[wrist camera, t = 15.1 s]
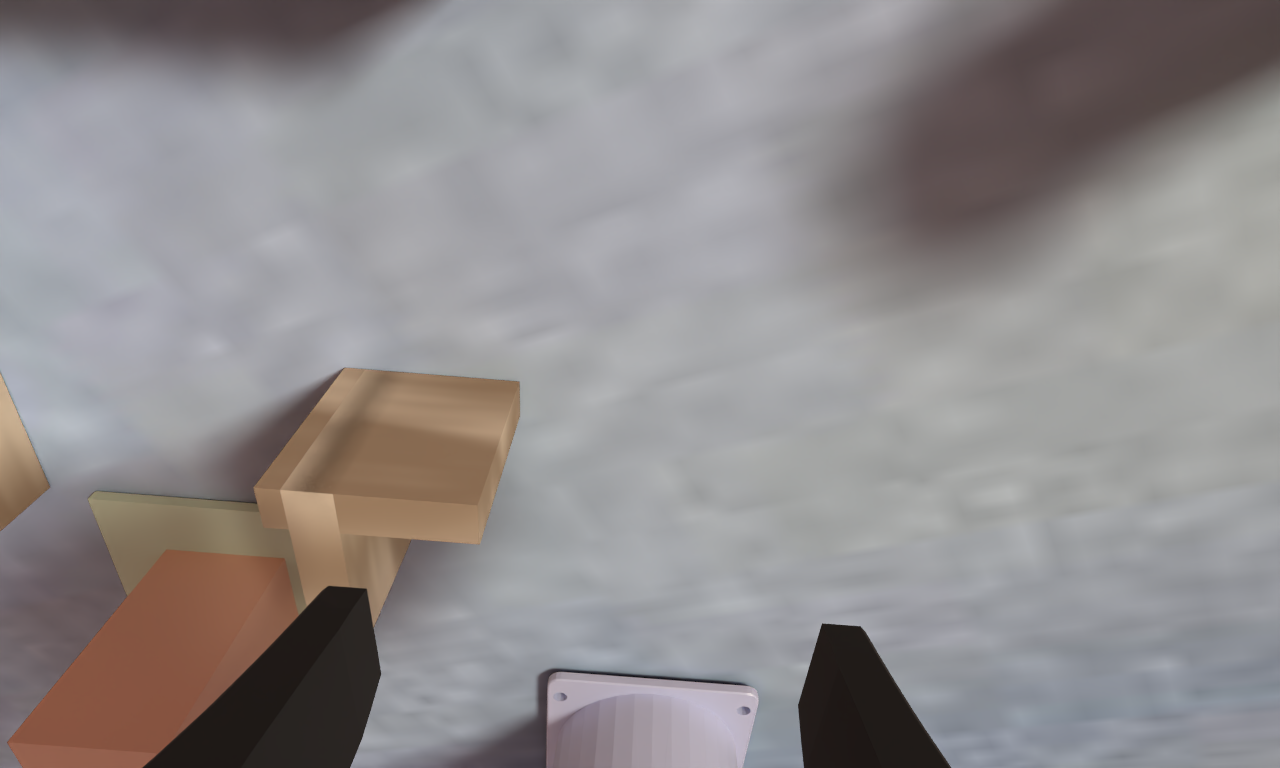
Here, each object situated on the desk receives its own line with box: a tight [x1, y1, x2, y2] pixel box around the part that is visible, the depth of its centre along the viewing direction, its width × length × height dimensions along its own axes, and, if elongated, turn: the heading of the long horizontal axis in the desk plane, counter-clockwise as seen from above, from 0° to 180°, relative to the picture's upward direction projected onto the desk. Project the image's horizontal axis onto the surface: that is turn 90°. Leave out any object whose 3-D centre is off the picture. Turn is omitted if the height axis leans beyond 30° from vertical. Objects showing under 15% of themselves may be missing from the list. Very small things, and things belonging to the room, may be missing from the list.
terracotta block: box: [7, 549, 299, 768], centre depth 23 cm, size 4×4×7 cm
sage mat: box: [88, 491, 307, 615], centre depth 26 cm, size 8×8×1 cm
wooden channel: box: [0, 368, 520, 628], centre depth 17 cm, size 18×17×6 cm
